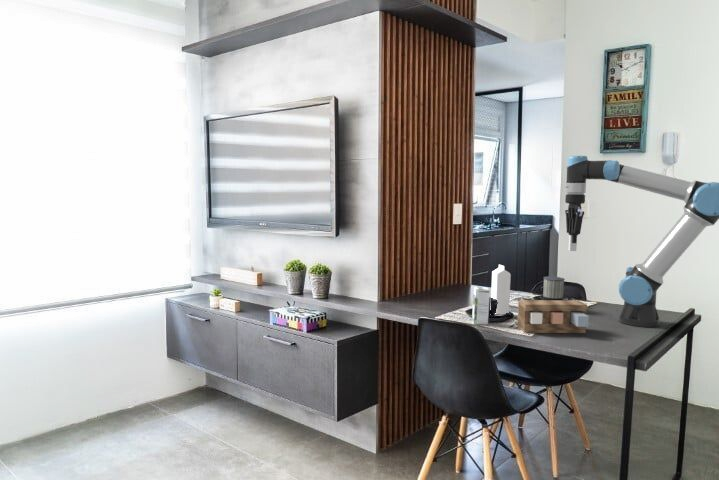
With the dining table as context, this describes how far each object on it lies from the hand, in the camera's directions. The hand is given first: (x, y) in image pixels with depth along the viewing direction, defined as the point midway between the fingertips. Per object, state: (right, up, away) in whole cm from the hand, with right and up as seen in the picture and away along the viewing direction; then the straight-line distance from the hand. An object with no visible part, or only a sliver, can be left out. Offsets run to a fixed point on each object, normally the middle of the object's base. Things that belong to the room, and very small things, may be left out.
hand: (572, 250), depth 230 cm
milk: (-28, -28, +10) cm, 41 cm away
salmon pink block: (-13, -27, -16) cm, 34 cm away
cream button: (-21, -27, -16) cm, 38 cm away
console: (-14, -31, -14) cm, 36 cm away
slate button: (-5, -27, -19) cm, 34 cm away
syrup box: (-39, -30, -4) cm, 49 cm away
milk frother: (-4, -27, +24) cm, 36 cm away
